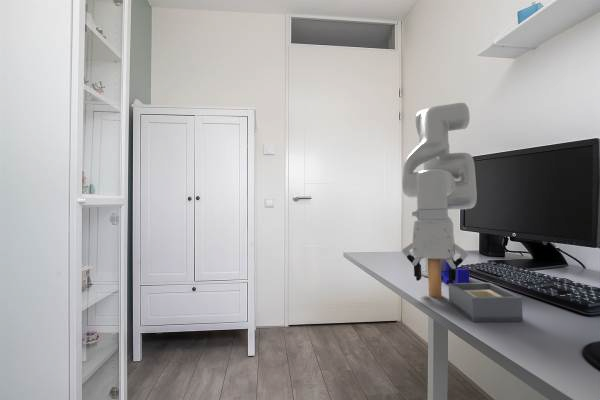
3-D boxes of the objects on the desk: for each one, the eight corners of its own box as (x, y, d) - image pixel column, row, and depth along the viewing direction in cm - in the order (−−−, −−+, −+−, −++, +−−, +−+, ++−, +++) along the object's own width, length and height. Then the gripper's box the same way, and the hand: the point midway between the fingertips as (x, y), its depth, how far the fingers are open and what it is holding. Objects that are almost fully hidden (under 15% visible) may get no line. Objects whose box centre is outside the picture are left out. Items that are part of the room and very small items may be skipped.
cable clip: (441, 280, 101) (440, 261, 101) (456, 280, 100) (455, 261, 100) (452, 291, 89) (451, 269, 89) (469, 291, 88) (468, 269, 88)
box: (449, 303, 78) (448, 283, 78) (490, 302, 78) (490, 282, 78) (473, 322, 66) (472, 298, 66) (522, 321, 66) (521, 297, 66)
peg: (430, 293, 87) (428, 257, 87) (442, 294, 85) (441, 257, 85) (427, 296, 84) (426, 258, 84) (440, 298, 83) (439, 259, 83)
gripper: (396, 216, 86) (398, 280, 86) (467, 216, 77) (470, 288, 77) (403, 215, 93) (405, 275, 93) (470, 214, 83) (472, 281, 83)
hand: (434, 280), depth 85 cm, fingers open, 7 cm apart
